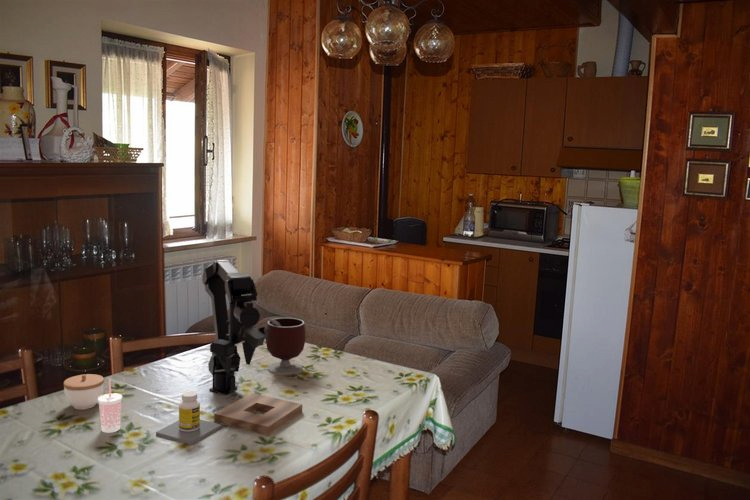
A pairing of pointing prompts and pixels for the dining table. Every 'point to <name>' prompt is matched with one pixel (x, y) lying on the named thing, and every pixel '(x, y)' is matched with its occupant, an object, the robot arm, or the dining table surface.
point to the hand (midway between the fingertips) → (238, 368)
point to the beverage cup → (110, 411)
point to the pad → (188, 437)
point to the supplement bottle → (189, 412)
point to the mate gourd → (285, 344)
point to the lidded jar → (83, 390)
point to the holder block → (265, 424)
